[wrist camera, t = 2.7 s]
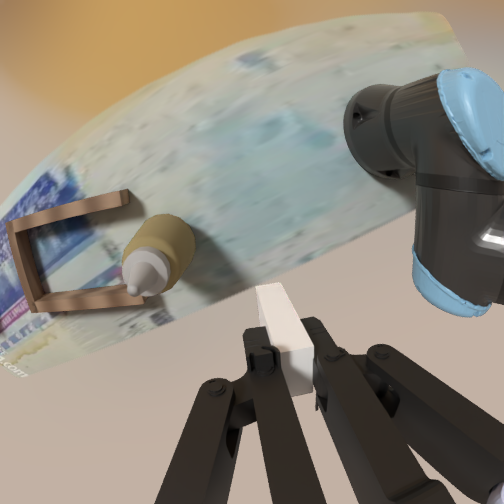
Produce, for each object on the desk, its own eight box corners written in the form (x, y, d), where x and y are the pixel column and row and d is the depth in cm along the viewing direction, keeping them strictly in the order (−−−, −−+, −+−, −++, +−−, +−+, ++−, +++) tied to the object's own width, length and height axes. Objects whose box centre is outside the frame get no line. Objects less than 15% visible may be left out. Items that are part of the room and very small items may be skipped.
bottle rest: (127, 188, 35) (119, 190, 32) (149, 293, 40) (144, 304, 37) (17, 218, 34) (5, 222, 30) (40, 304, 38) (31, 313, 35)
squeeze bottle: (182, 274, 40) (158, 346, 23) (134, 248, 38) (80, 303, 21) (208, 227, 38) (198, 273, 21) (158, 199, 36) (109, 223, 19)
